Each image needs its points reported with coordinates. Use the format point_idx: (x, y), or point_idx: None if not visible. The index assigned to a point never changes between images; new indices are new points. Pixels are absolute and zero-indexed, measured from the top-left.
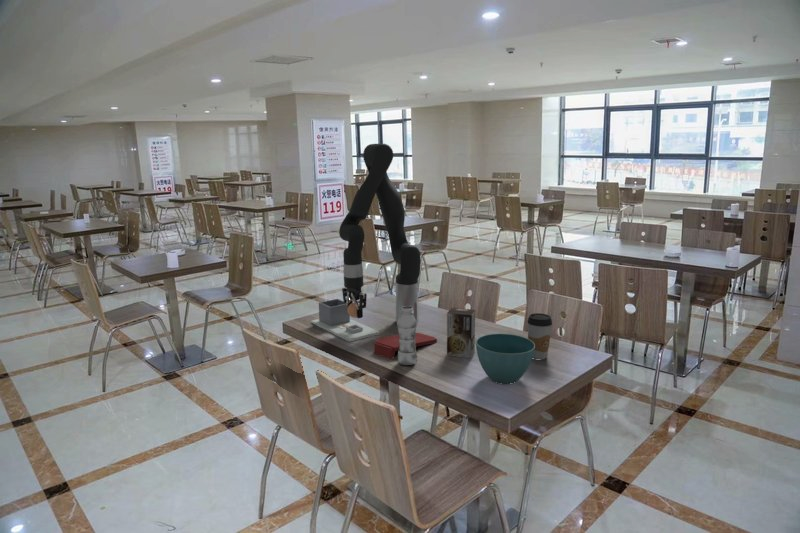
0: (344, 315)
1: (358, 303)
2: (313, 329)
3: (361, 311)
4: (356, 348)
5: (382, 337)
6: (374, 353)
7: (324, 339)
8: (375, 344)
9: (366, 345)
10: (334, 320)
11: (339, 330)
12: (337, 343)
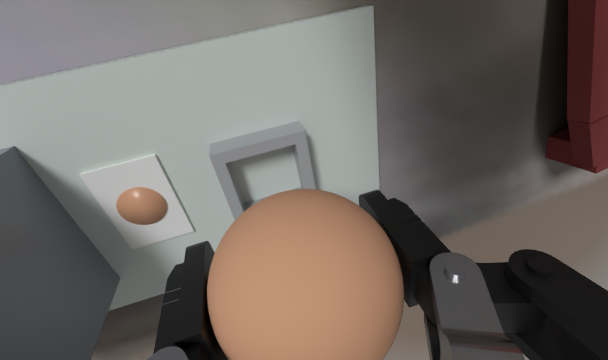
0: (8, 234)
1: (353, 329)
2: (112, 333)
3: (432, 246)
4: (457, 205)
5: (595, 108)
6: (549, 155)
7: None
8: (594, 168)
9: (462, 157)
10: (90, 287)
11: None
12: None
